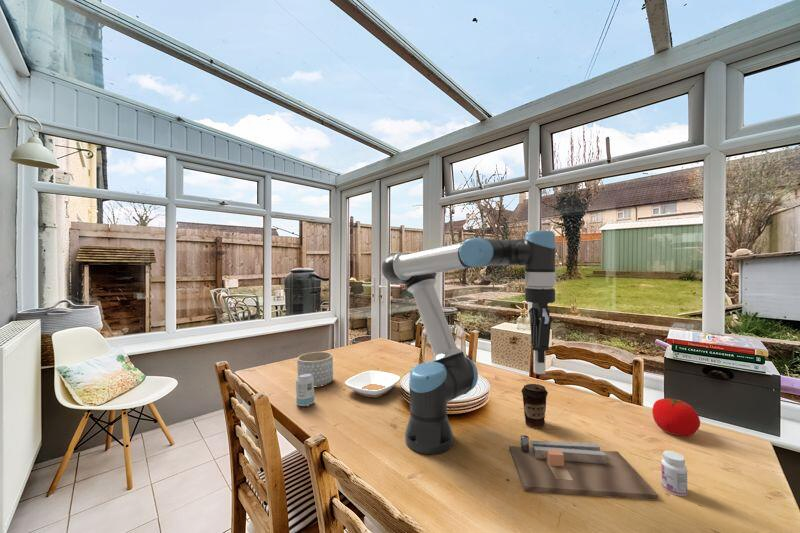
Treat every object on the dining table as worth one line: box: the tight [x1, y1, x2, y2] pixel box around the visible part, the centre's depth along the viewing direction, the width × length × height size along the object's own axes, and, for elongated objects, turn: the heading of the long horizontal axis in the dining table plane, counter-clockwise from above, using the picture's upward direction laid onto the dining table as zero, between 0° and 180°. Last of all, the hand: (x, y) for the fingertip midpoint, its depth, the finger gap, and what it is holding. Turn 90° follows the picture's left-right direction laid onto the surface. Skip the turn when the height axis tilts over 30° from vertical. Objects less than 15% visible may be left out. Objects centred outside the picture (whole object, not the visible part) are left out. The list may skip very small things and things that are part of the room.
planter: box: [296, 351, 334, 386], centre depth 151 cm, size 16×16×13 cm
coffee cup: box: [520, 383, 549, 429], centre depth 108 cm, size 9×8×13 cm
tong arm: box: [534, 446, 607, 464], centre depth 87 cm, size 18×2×2 cm, turn 80°
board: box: [508, 445, 660, 501], centre depth 83 cm, size 30×17×1 cm, turn 83°
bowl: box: [344, 370, 402, 398], centre depth 140 cm, size 22×22×5 cm
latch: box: [547, 449, 564, 466], centre depth 85 cm, size 4×2×3 cm, turn 83°
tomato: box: [651, 397, 701, 437], centre depth 102 cm, size 11×12×10 cm
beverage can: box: [295, 373, 315, 407], centre depth 128 cm, size 7×7×12 cm
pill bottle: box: [660, 450, 689, 497], centre depth 76 cm, size 5×5×8 cm
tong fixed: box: [520, 434, 601, 453], centre depth 90 cm, size 21×2×4 cm, turn 83°
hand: (539, 372), depth 87 cm, fingers closed
